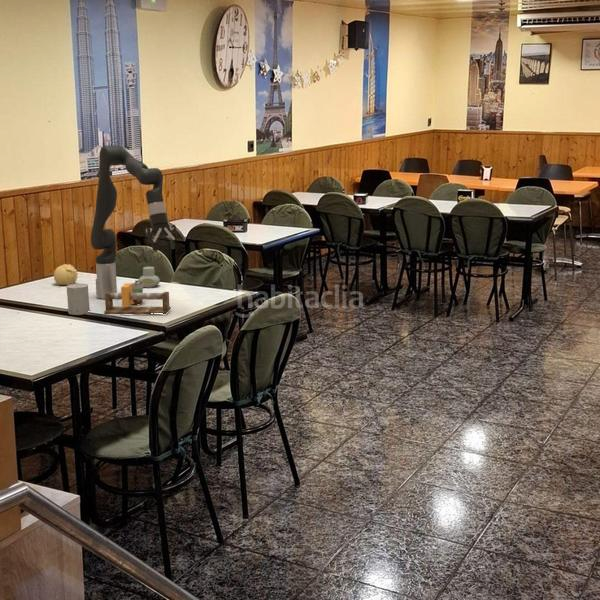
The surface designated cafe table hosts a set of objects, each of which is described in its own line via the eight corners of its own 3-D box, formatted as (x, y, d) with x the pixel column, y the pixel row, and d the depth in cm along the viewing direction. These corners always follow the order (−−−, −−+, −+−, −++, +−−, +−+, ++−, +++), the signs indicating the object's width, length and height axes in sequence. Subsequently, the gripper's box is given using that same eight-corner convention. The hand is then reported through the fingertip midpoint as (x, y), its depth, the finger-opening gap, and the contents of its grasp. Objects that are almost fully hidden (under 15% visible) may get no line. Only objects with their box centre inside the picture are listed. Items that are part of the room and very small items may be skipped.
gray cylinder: (63, 313, 388) (62, 287, 385) (76, 309, 397) (74, 282, 394) (82, 315, 385) (80, 288, 382) (94, 310, 393) (92, 284, 391)
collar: (122, 306, 385) (121, 287, 383) (126, 302, 393) (125, 283, 391) (128, 306, 385) (127, 287, 383) (133, 302, 393) (132, 283, 390)
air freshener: (161, 284, 447) (160, 265, 445) (158, 288, 439) (157, 269, 437) (140, 285, 447) (139, 266, 445) (137, 288, 439) (136, 269, 437)
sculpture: (78, 285, 446) (77, 265, 444) (54, 287, 443) (52, 266, 441) (78, 281, 457) (76, 261, 455) (54, 282, 454) (53, 262, 452)
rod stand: (104, 314, 385) (103, 295, 383) (110, 309, 395) (109, 290, 393) (166, 315, 384) (165, 295, 382) (170, 309, 393) (169, 290, 391)
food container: (139, 306, 400) (138, 285, 397) (126, 306, 401) (125, 285, 398) (148, 301, 411) (147, 280, 409) (136, 300, 413) (135, 280, 410)
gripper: (168, 213, 382) (175, 249, 382) (139, 216, 374) (146, 253, 374) (176, 210, 376) (183, 246, 376) (146, 213, 368) (153, 250, 368)
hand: (164, 250), depth 375 cm, fingers open, 8 cm apart
